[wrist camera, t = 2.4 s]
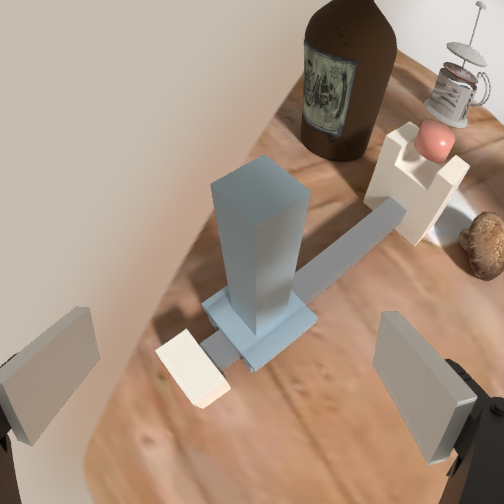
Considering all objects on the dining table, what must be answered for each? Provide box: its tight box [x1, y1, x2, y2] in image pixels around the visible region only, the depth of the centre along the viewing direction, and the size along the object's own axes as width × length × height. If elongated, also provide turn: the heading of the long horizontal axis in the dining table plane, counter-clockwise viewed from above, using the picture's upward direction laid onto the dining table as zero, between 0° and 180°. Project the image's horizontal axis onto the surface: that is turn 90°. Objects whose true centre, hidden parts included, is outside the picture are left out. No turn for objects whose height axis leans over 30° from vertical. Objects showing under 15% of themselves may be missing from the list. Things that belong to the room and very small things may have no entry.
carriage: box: [201, 155, 318, 373], centre depth 19 cm, size 6×6×17 cm
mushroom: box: [459, 212, 504, 281], centre depth 29 cm, size 8×8×6 cm
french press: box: [424, 1, 491, 128], centre depth 37 cm, size 10×12×25 cm
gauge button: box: [414, 119, 455, 163], centre depth 25 cm, size 4×4×2 cm
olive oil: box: [301, 0, 397, 161], centre depth 31 cm, size 11×11×25 cm
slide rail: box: [155, 122, 470, 409], centre depth 26 cm, size 32×8×10 cm, turn 129°
